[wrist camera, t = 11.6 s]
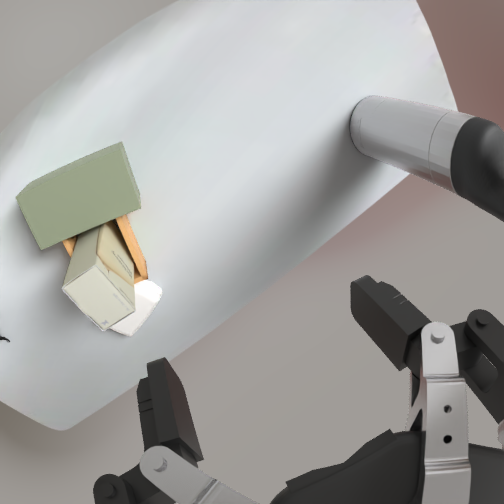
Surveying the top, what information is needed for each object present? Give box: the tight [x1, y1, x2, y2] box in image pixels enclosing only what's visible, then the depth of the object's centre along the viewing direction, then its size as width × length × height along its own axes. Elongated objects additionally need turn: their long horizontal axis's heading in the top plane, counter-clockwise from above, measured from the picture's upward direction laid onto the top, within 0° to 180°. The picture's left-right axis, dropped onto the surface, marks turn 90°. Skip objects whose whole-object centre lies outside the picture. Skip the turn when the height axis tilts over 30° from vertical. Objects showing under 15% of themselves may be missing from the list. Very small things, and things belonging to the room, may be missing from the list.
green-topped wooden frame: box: [16, 142, 148, 284], centre depth 31 cm, size 12×15×5 cm
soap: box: [110, 280, 162, 337], centre depth 39 cm, size 9×7×3 cm
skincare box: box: [62, 220, 136, 331], centre depth 30 cm, size 6×4×12 cm
